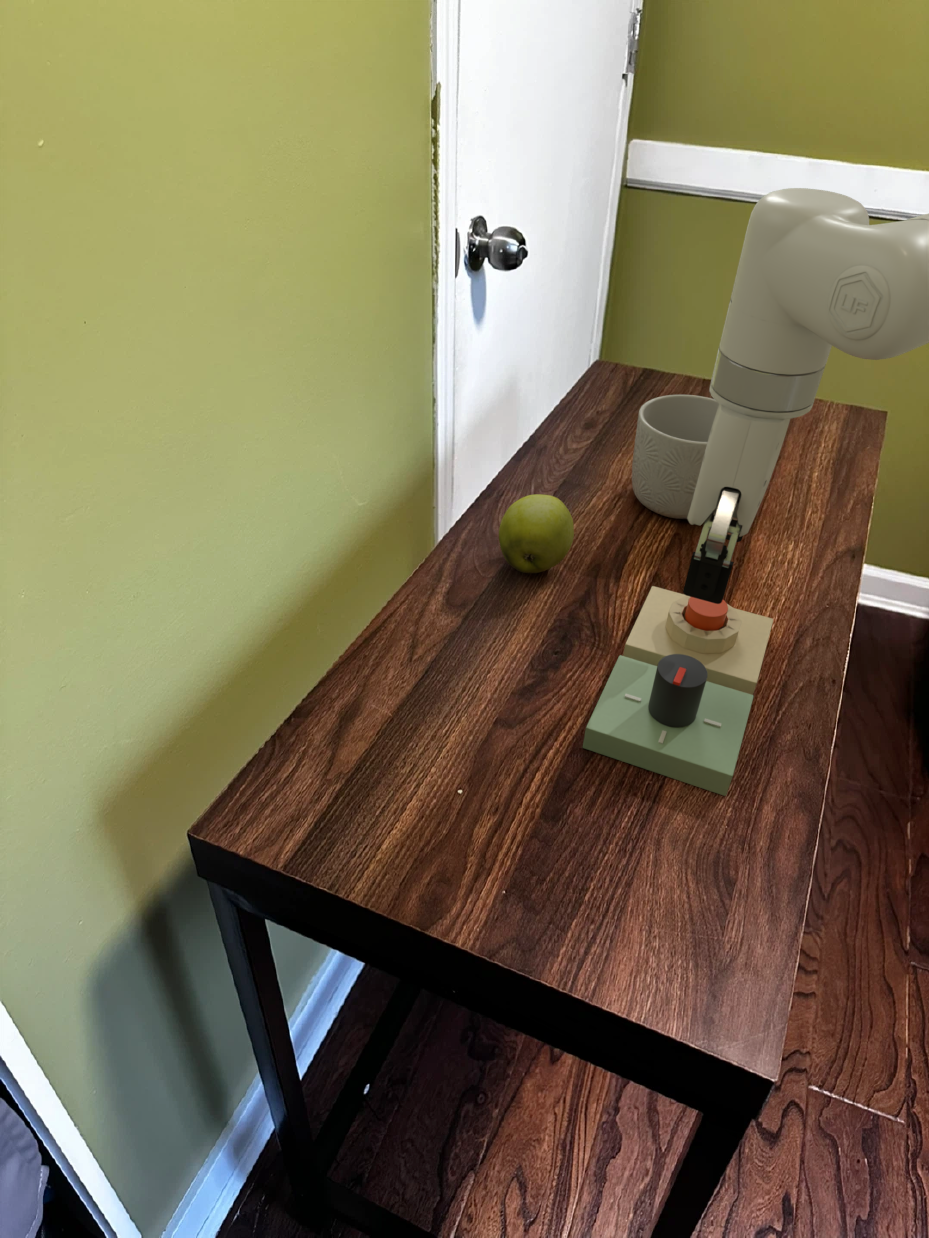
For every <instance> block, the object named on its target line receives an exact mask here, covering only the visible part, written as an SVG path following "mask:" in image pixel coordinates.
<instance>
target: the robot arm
mask: <svg viewBox="0 0 929 1238" xmlns="http://www.w3.org/2000/svg"><path fill="white" fill-rule="evenodd" d="M736 269H737V270H736V273H735V278H734V281H733V286H732V290H731V295H730V299H729V303H728V308H727V312H726V315H725V320H724V324H723V329H722V333H721V337H720V341H719V346H718V350H717V354H716V358H715V363H714V366H713V367H714V368H713V371H712V375H711V380H710V384H709V394H710V397H711V398H712V399H715V400H716V401H717V402H718V403H719V406H718V409H717V412H716V415H715V418H714V422H713V425H712V428H711V432H710V435H709V439H708V442H707V446H706V450H705V454H704V458H703V462H702V466H701V469H700V473H699V477H698V481H697V485H696V488H695V492H694V496H693V499H692V503H691V507H690V510H689V514H688V517H687V519H686V520H687V522H688V523H689V525H691V526H694V525H697V526H701V525H702V529H701V533H700V536H699V539H698V543H697V546H696V549H695V551H693V552H692V554H691V558H690V562H689V567H688V570H687V574H686V578H685V581H684V586H683V590H682V594H684V595H686V596H690V597H694V598H697V599H701V600H704V601H708V602H712V603H715V604H720V603H721V602H722V600H724V597H725V594H726V591H727V587H728V583H729V580H730V576H731V573H732V569H733V567H734V563H735V562H734V561H732V558H733V555H734V551H735V549H736V545H737V543H740V542H741V541H742V540H743V537H744V536H745V535H747V534H749V532H750V529H751V527H752V525H753V523H754V520H755V518H756V516H757V513H758V511H759V509H760V506H761V504H762V501H763V499H764V497H765V494H766V491H767V489H768V487H769V484H770V481H771V478H772V476H773V473H774V471H775V467H776V465H777V462H778V460H779V456H780V453H781V450H782V447H783V444H784V441H785V439H786V438H785V437H786V435H787V431H788V429H789V425H790V423H791V419H795V418H799V417H802V416H805V415H806V414H808V413H810V411H811V410H812V409H813V406H814V404H815V398H816V396H817V393H818V390H819V387H820V384H821V381H822V378H823V375H824V372H825V368H826V365H827V363H828V359H829V356H830V353H831V350H832V347H834V348H835V349H838V350H839V351H841V352H843V353H844V354H846V355H847V354H848V355H849V356H852V357H854V358H859V359H862V360H871V361H879V360H887V359H888V360H889V359H891V358H895V357H898V356H902V355H904V354H906V353H908V352H911V351H913V350H915V349H918V348H920V347H922V346H925V345H927V344H929V213H925V214H922V215H918V216H915V217H911V218H907V219H904V220H899V221H892V222H885V223H878V224H877V223H876V224H870V216H869V213H868V210H867V209H866V208H865V206H864V205H863V204H862V203H861V202H859V201H858V200H856V199H854V198H852V197H850V196H848V195H845V194H842V193H838V192H835V191H829V190H824V189H817V188H806V187H788V188H782V189H777V190H772V191H770V192H768V193H766V194H765V195H763V196H762V197H761V198H760V199H758V201H757V202H756V204H755V205H754V206H753V209H752V211H751V213H750V216H749V220H748V223H747V227H746V231H745V235H744V238H743V244H742V248H741V251H740V256H739V260H738V265H737V268H736ZM726 540H727V541H728V544H727V545H725V543H726Z"/></svg>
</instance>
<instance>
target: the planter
mask: <svg viewBox="0 0 929 1238" xmlns="http://www.w3.org/2000/svg"><path fill="white" fill-rule="evenodd" d="M718 406H719V403H718V402H717V401H716V400H715V399H714V398H713V397H707V396H701V395H693V394H668V395H662V396H658V397H654V398H651V399H650V400H648V401H646V402H644V403H643V404H642V405H641V407H640V408H639V410H638V416H637V424H636V431H635V437H634V446H633V453H632V454H633V455H632V463H631V464H632V465H631V487H632V490H633V493H634V495H635V497H636V499H637V500H638V501H639V502H640V503H641V505H642V506H644V507H645V508H646V509H648V510H650V511H652V512H653V513H656V514H657V515H660V516H664V517H668V518H671V519H677V520H688V519H687V517H688V514H689V510H690V507H691V503H692V499H693V496H694V492H695V488H696V485H697V481H698V477H699V473H700V469H701V466H702V462H703V458H704V454H705V450H706V446H707V442H708V439H709V435H710V432H711V428H712V425H713V422H714V418H715V415H716V412H717V409H718Z"/></svg>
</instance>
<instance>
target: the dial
mask: <svg viewBox="0 0 929 1238" xmlns="http://www.w3.org/2000/svg"><path fill="white" fill-rule="evenodd" d="M707 677H708V673H707V670H706V668H705V666H704V665H703V664H702V663H701V662H700V661H698V660H697V659H695V658H693V657H690V656H687V655H683V654H672V655H668V656H665V657H663V658H662V659H661V660H660V661H659V663H658V666H657V670H656V674H655V679H654V683H653V687H652V692H651V696H650V700H649V705H648V709H649V712H650V714H651V716H652V717H653V718H654V719H655V720H656V721H658V722H659V723H661V724H663V725H666V726H669V727H675V728H679V727H685V726H688V725H690V724H691V723H692V722H694V720H695V718H696V715H697V712H698V708H699V705H700V701H701V698H702V694H703V691H704V687H705V684H706V680H707Z"/></svg>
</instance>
